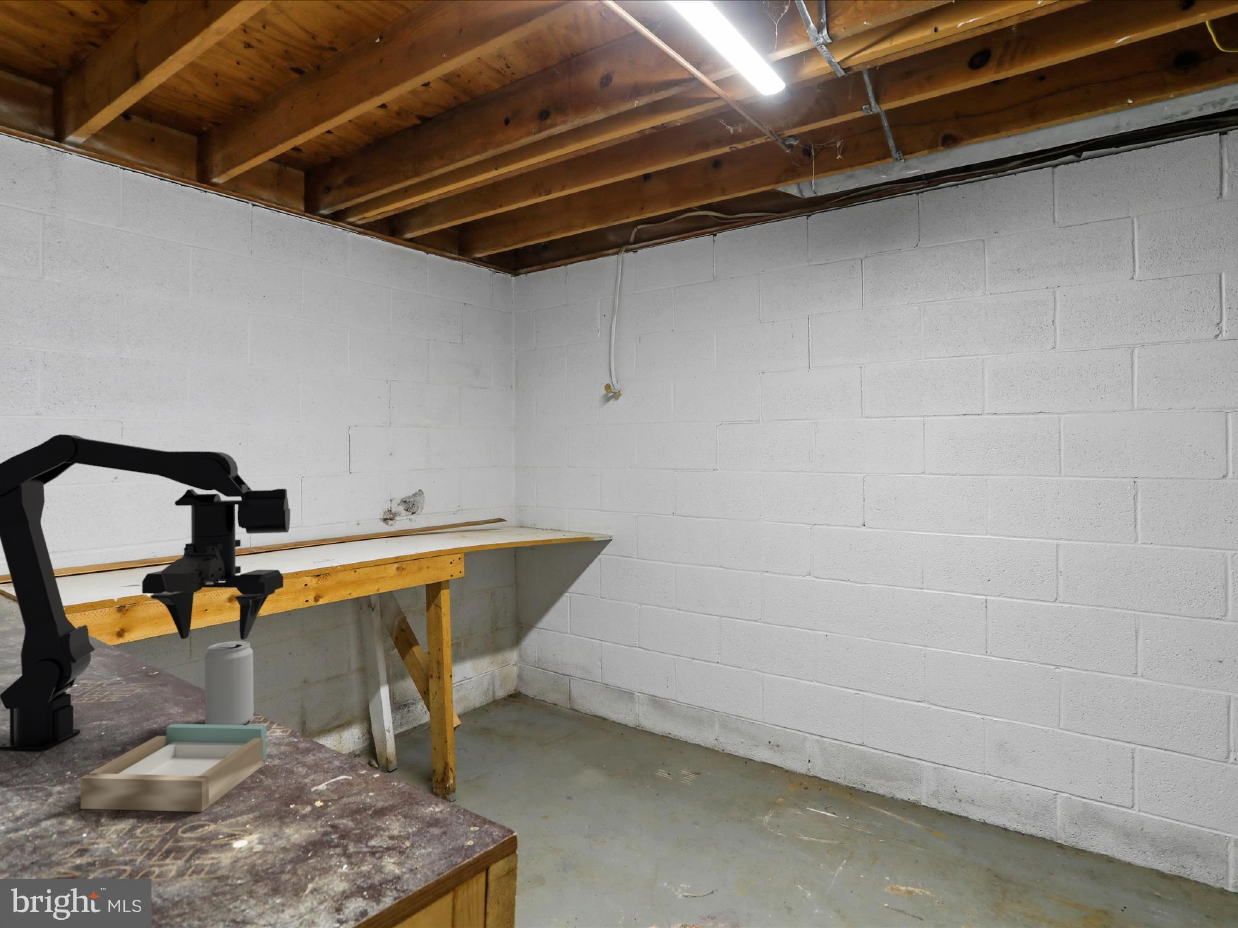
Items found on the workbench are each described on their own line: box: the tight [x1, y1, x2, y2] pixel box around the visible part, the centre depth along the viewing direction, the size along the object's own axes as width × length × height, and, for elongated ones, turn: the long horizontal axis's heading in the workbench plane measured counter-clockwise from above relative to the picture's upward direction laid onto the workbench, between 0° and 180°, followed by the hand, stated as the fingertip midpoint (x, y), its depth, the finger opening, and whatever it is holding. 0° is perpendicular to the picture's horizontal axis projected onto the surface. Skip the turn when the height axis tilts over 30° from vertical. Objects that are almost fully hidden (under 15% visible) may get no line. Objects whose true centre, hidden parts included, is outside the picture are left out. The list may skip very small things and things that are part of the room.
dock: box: [80, 735, 264, 813], centre depth 85 cm, size 14×12×4 cm
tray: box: [118, 723, 267, 776], centre depth 87 cm, size 13×12×4 cm
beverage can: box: [204, 640, 255, 725], centre depth 105 cm, size 6×6×12 cm
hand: (214, 638), depth 105 cm, fingers open, 9 cm apart
